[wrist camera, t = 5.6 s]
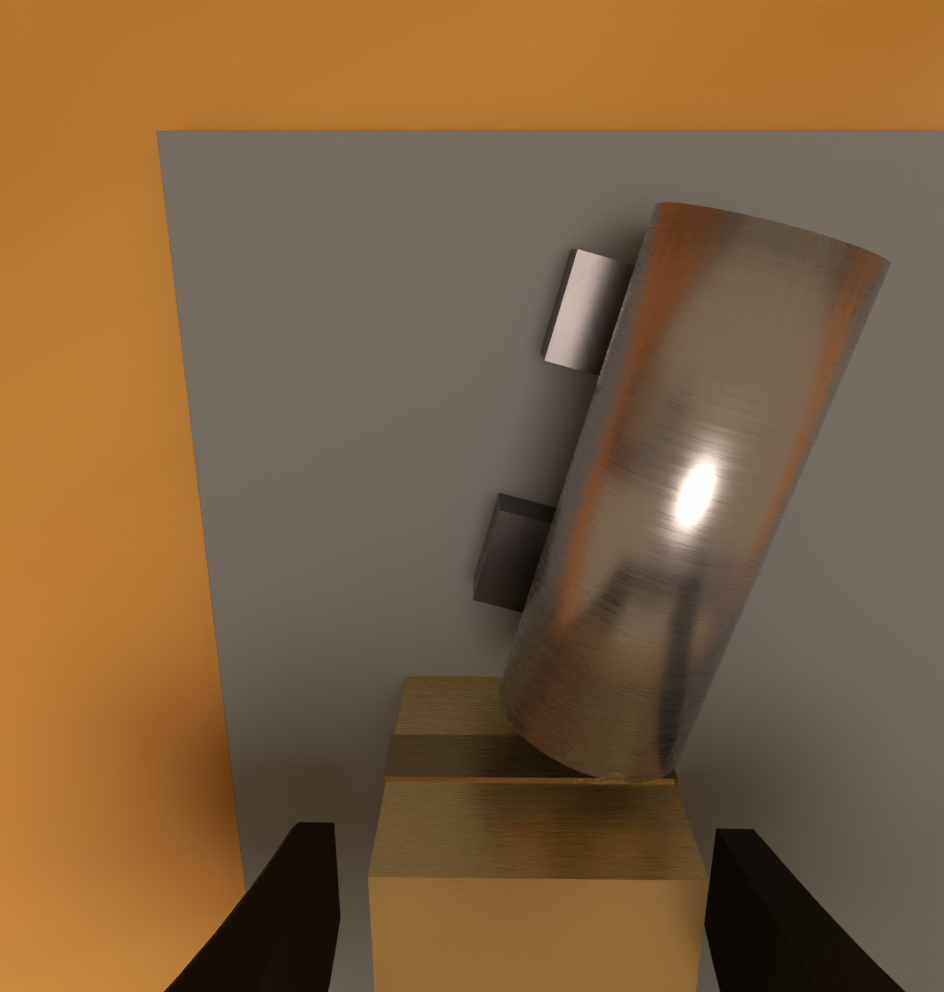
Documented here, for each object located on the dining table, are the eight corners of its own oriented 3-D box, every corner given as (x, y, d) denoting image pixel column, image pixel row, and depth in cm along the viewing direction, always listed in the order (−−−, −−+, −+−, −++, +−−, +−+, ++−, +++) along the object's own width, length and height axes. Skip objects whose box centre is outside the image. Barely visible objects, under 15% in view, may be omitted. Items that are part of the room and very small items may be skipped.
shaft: (670, 649, 14) (745, 813, 10) (464, 597, 14) (454, 743, 10) (820, 273, 12) (995, 286, 8) (580, 203, 12) (630, 178, 8)
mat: (1236, 137, 11) (1277, 130, 11) (952, 1111, 18) (967, 1140, 17) (172, 136, 11) (156, 131, 11) (279, 1096, 18) (272, 1125, 17)
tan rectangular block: (640, 675, 14) (713, 877, 9) (626, 864, 15) (684, 1120, 10) (403, 673, 14) (363, 873, 9) (409, 862, 15) (378, 1114, 11)
